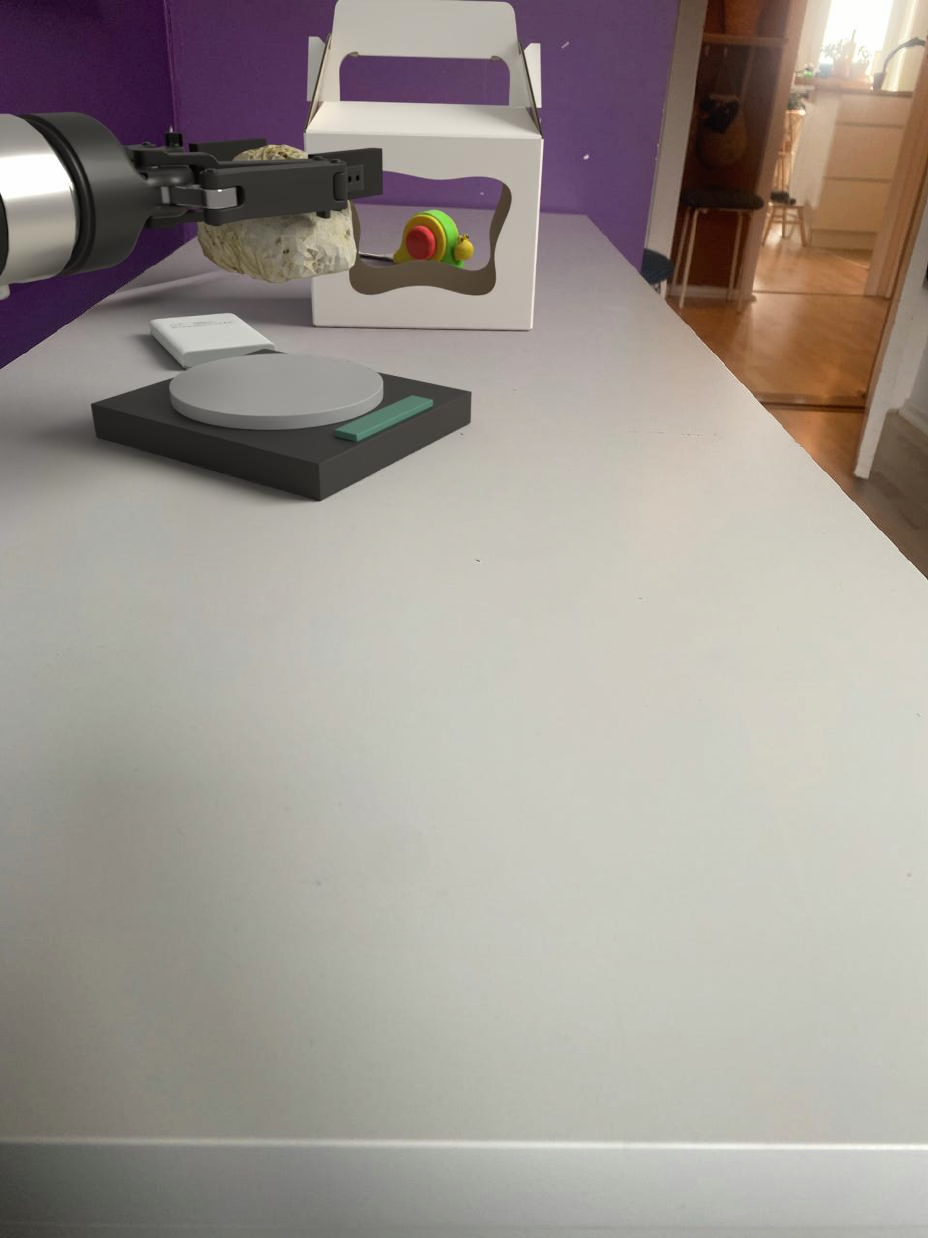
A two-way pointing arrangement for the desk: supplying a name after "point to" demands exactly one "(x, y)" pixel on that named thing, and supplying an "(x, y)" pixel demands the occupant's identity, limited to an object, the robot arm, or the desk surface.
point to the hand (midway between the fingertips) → (318, 165)
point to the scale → (285, 419)
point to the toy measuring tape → (431, 241)
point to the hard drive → (207, 338)
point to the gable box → (434, 162)
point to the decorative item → (281, 238)
